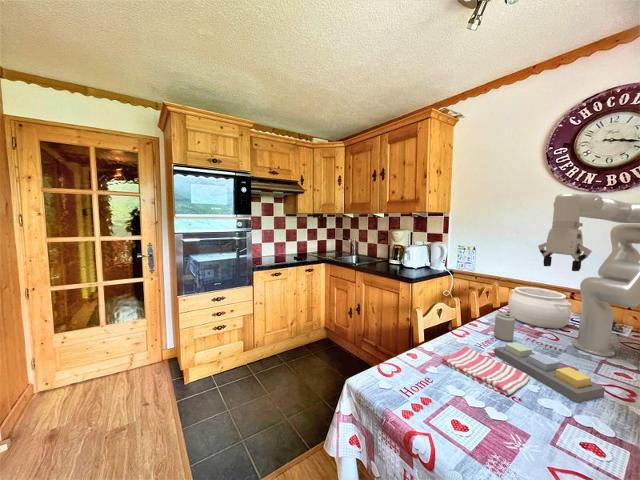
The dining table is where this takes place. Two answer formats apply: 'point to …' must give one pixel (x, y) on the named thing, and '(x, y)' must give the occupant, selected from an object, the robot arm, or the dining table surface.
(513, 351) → the sage button
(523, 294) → the pot
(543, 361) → the blue button
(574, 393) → the button board
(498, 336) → the can
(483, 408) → the dining table surface
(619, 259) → the robot arm
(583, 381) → the mustard button
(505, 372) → the dish towel
